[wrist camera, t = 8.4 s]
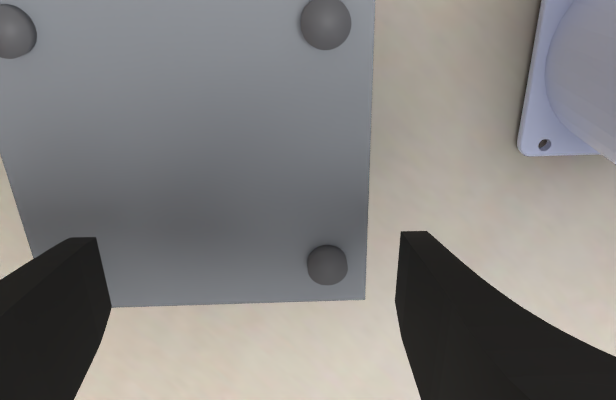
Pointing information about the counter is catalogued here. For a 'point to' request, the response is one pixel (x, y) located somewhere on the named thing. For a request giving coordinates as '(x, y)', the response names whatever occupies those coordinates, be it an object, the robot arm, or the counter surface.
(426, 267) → the robot arm
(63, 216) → the plate
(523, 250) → the counter surface
